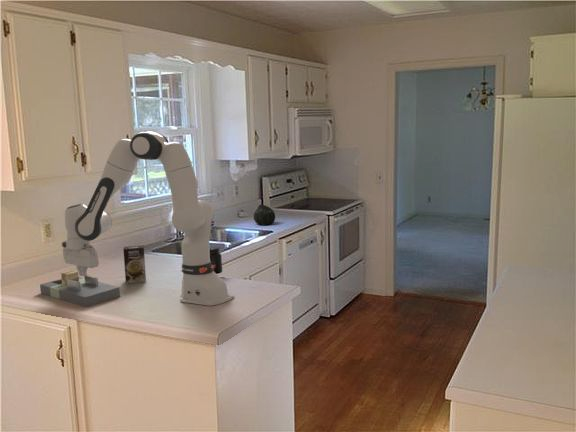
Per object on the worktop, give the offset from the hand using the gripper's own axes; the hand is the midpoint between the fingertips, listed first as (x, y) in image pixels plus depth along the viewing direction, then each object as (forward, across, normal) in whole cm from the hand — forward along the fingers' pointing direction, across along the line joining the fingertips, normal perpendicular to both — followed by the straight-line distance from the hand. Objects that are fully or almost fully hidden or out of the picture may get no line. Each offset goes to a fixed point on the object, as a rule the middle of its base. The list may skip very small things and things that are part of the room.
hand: (82, 275), depth 225 cm
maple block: (+5, +10, 0) cm, 11 cm away
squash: (+10, +39, -167) cm, 172 cm away
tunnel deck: (+9, +4, 0) cm, 10 cm away
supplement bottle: (+10, -22, -56) cm, 61 cm away
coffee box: (+9, 0, -26) cm, 27 cm away
